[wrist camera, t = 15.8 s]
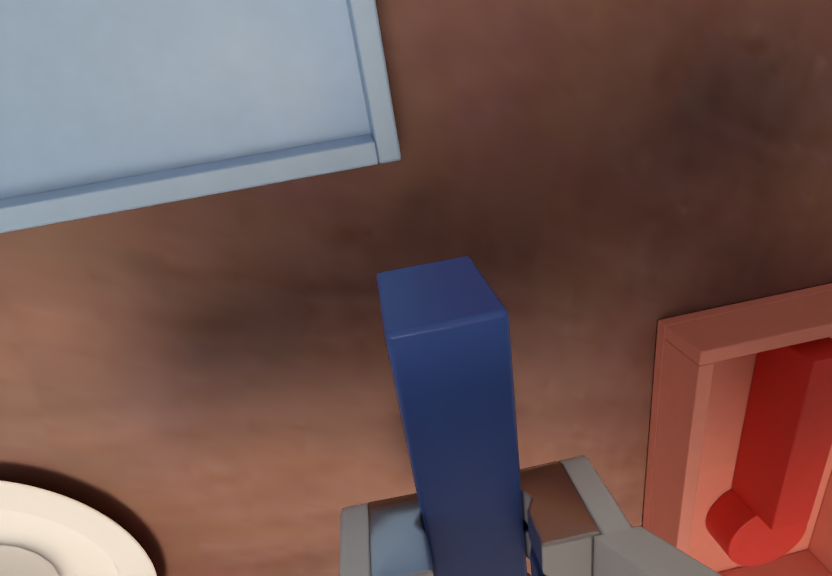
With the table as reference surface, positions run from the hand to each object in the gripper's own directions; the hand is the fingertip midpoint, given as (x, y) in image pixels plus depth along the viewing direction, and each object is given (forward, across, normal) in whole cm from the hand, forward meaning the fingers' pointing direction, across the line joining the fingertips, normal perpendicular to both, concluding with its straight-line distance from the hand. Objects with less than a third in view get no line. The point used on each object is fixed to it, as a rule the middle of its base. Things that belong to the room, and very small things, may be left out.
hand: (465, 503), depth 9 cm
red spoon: (+8, -15, +10) cm, 20 cm away
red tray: (+9, -15, +11) cm, 20 cm away
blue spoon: (+2, 0, +2) cm, 2 cm away
